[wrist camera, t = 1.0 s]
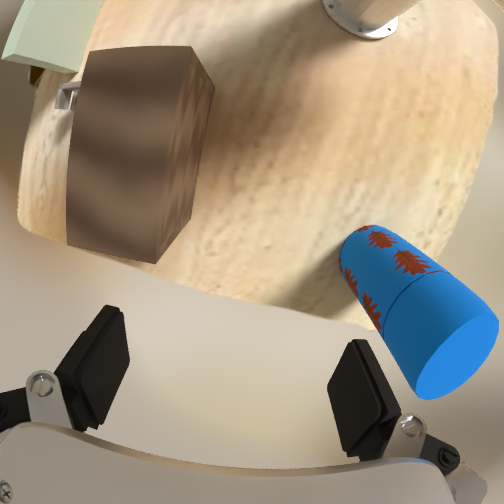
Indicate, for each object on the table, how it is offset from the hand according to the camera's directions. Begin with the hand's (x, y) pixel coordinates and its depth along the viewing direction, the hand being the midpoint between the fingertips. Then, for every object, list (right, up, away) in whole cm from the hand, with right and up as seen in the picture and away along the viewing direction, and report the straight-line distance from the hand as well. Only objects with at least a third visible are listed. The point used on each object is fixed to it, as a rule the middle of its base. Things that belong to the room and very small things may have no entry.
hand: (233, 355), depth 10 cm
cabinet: (-16, +19, +23) cm, 35 cm away
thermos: (+19, +3, +30) cm, 36 cm away
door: (-27, +40, +15) cm, 51 cm away
